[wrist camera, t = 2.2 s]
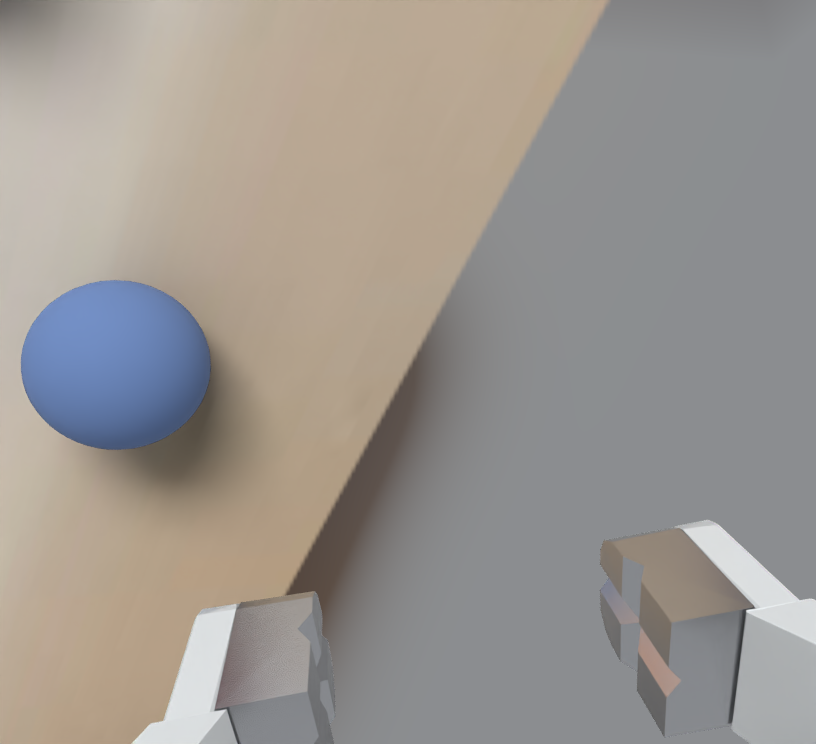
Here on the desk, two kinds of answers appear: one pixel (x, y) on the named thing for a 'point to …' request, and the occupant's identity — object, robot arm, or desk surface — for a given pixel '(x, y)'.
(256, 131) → the desk surface
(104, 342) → the ball
